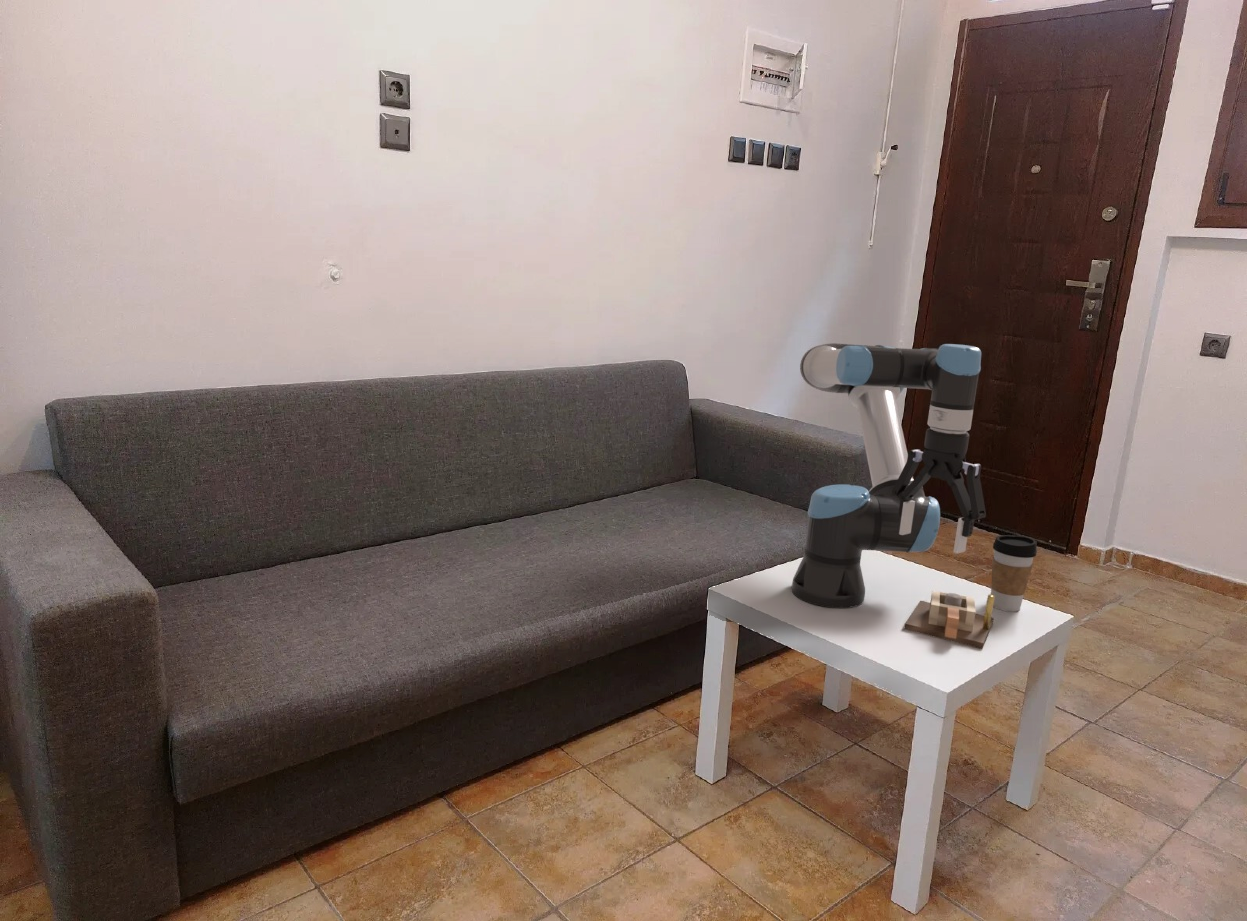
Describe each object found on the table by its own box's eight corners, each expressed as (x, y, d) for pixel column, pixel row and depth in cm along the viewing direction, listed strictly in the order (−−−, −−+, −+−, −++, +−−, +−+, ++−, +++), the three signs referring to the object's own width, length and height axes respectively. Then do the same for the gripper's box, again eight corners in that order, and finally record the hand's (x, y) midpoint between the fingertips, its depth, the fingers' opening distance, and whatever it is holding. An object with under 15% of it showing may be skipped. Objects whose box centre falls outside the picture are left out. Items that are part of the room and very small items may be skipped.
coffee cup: (1031, 616, 178) (1043, 547, 175) (987, 610, 180) (999, 542, 176) (1021, 601, 186) (1032, 535, 183) (980, 596, 188) (990, 530, 184)
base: (903, 629, 168) (908, 598, 167) (919, 605, 180) (923, 577, 179) (982, 649, 161) (987, 617, 160) (993, 623, 174) (998, 593, 172)
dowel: (982, 628, 168) (987, 595, 166) (983, 626, 169) (988, 594, 167) (988, 630, 167) (994, 597, 165) (989, 628, 168) (995, 595, 166)
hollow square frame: (929, 609, 176) (932, 590, 175) (971, 616, 173) (974, 597, 172) (927, 633, 164) (930, 613, 163) (973, 641, 161) (976, 622, 160)
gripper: (882, 419, 165) (868, 527, 171) (996, 444, 147) (977, 565, 153) (905, 416, 170) (891, 522, 175) (1019, 440, 152) (999, 558, 157)
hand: (931, 542), depth 164 cm, fingers open, 11 cm apart
